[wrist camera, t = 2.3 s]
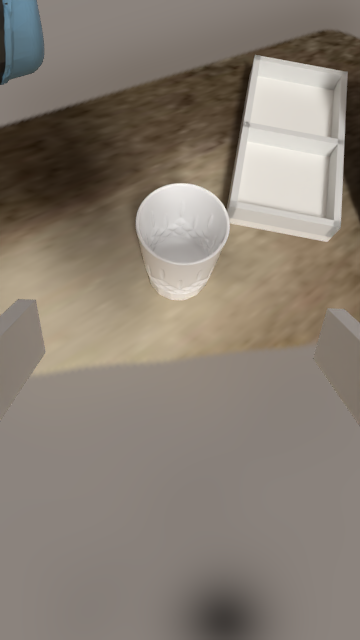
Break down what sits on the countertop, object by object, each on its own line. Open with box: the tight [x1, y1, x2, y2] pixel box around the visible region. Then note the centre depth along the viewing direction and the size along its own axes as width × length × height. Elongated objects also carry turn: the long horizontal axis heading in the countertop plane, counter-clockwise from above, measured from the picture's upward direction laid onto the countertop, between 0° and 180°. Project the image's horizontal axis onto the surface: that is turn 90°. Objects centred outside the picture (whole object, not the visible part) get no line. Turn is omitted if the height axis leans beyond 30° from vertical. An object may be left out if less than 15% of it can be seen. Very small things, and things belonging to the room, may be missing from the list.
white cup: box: [136, 183, 230, 300], centre depth 31 cm, size 8×8×10 cm
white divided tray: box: [227, 55, 348, 242], centre depth 40 cm, size 13×24×3 cm, turn 169°
